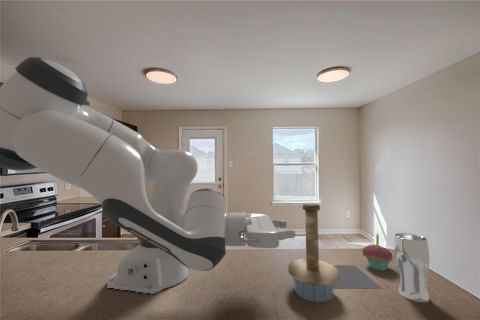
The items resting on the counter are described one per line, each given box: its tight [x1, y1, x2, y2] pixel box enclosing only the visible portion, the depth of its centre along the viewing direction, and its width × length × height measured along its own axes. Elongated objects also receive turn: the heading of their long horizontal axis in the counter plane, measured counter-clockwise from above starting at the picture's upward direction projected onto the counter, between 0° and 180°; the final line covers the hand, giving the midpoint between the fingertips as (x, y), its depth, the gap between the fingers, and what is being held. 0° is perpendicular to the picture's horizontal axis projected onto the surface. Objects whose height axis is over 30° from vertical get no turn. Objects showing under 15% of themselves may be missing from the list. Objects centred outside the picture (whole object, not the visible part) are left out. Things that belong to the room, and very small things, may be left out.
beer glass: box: [394, 232, 430, 303], centre depth 54 cm, size 7×7×15 cm
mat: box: [332, 264, 383, 290], centre depth 64 cm, size 14×14×1 cm
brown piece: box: [287, 203, 340, 286], centre depth 57 cm, size 13×13×18 cm
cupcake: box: [361, 232, 394, 271], centre depth 70 cm, size 9×8×12 cm
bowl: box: [292, 277, 335, 303], centre depth 56 cm, size 10×10×5 cm
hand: (289, 228), depth 58 cm, fingers open, 8 cm apart
